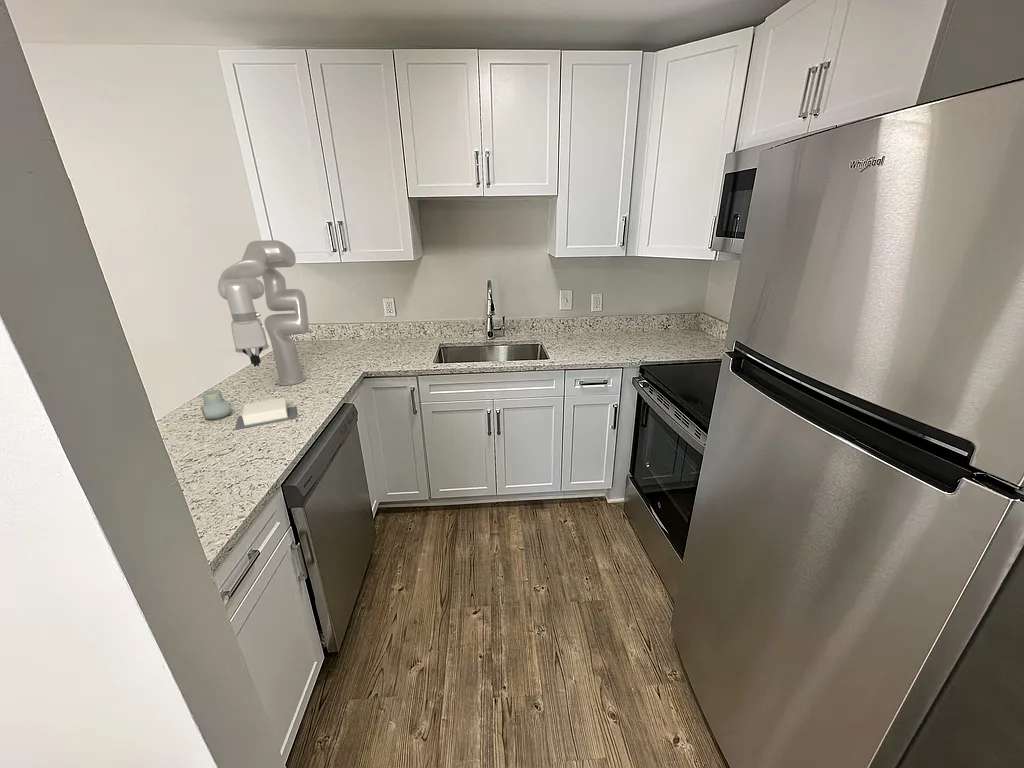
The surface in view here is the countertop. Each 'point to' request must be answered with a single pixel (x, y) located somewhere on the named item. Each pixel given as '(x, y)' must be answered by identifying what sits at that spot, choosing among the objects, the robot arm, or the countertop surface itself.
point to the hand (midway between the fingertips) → (256, 365)
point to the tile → (265, 411)
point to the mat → (291, 415)
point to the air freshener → (215, 405)
